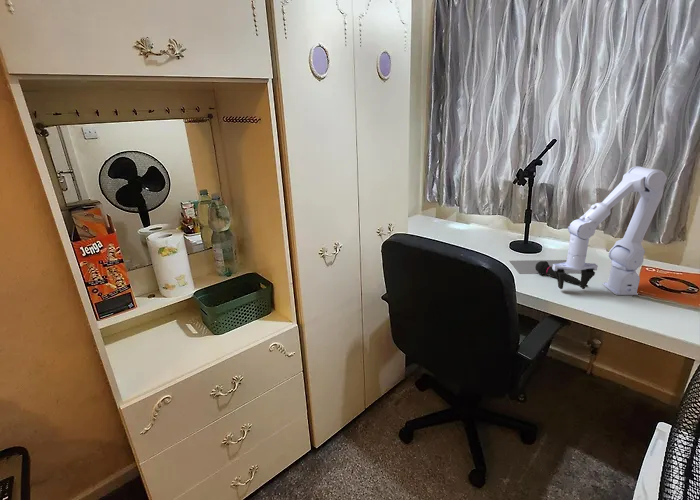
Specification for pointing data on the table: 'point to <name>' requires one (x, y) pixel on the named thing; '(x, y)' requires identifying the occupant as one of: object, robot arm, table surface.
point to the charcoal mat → (529, 265)
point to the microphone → (545, 268)
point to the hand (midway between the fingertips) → (571, 287)
